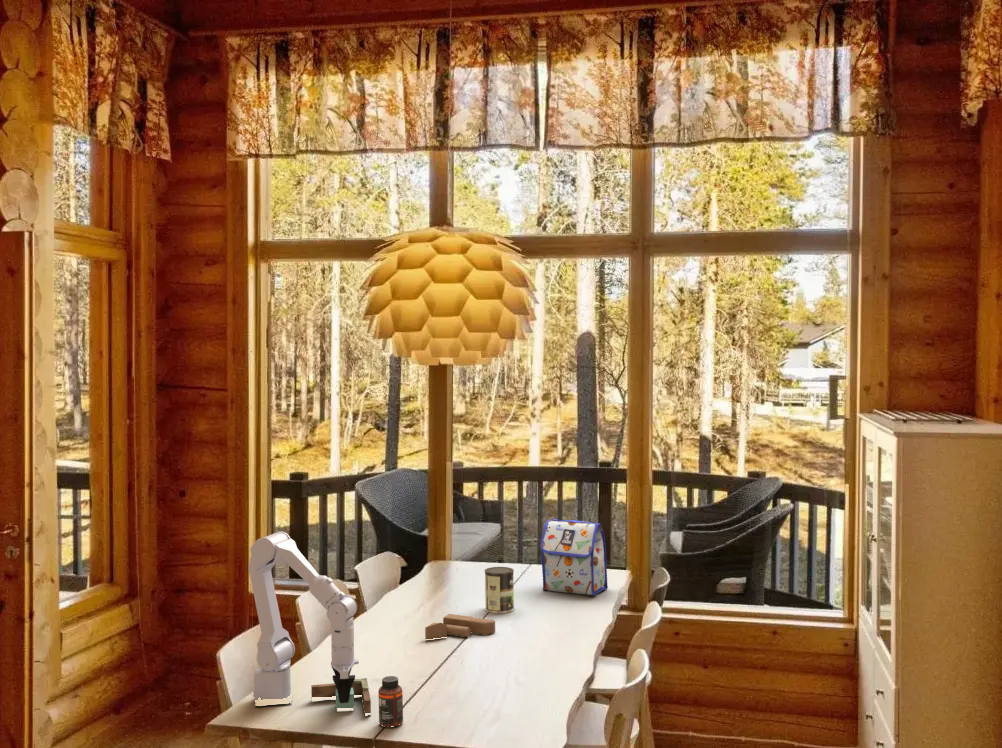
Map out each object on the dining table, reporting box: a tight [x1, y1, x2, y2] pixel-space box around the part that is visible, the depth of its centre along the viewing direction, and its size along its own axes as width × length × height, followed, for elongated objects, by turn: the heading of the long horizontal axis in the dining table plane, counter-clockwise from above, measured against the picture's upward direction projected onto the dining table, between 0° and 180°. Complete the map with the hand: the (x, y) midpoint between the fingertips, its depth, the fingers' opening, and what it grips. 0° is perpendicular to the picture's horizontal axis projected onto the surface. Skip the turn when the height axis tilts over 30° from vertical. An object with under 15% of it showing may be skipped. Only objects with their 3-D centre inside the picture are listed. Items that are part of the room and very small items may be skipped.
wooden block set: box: [424, 613, 496, 640], centre depth 291 cm, size 17×6×18 cm
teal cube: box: [335, 688, 355, 709], centre depth 234 cm, size 4×4×4 cm
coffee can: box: [484, 566, 515, 614], centre depth 321 cm, size 10×10×14 cm
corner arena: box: [310, 677, 372, 714], centre depth 234 cm, size 14×14×5 cm
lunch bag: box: [539, 518, 609, 597], centre depth 344 cm, size 23×17×27 cm
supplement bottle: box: [378, 675, 404, 728], centre depth 224 cm, size 6×6×11 cm
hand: (343, 696), depth 234 cm, fingers open, 7 cm apart
